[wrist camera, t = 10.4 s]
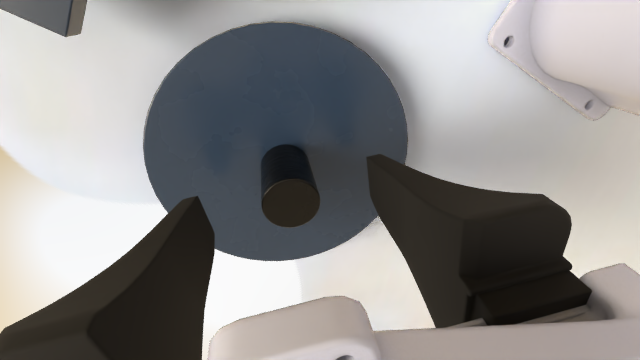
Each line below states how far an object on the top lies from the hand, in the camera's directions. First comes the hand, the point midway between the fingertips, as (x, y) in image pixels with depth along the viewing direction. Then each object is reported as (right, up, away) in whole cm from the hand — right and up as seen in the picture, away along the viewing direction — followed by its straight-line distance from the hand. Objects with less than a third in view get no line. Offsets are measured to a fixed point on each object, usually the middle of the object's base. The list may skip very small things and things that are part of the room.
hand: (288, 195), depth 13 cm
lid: (-1, +2, +3) cm, 3 cm away
